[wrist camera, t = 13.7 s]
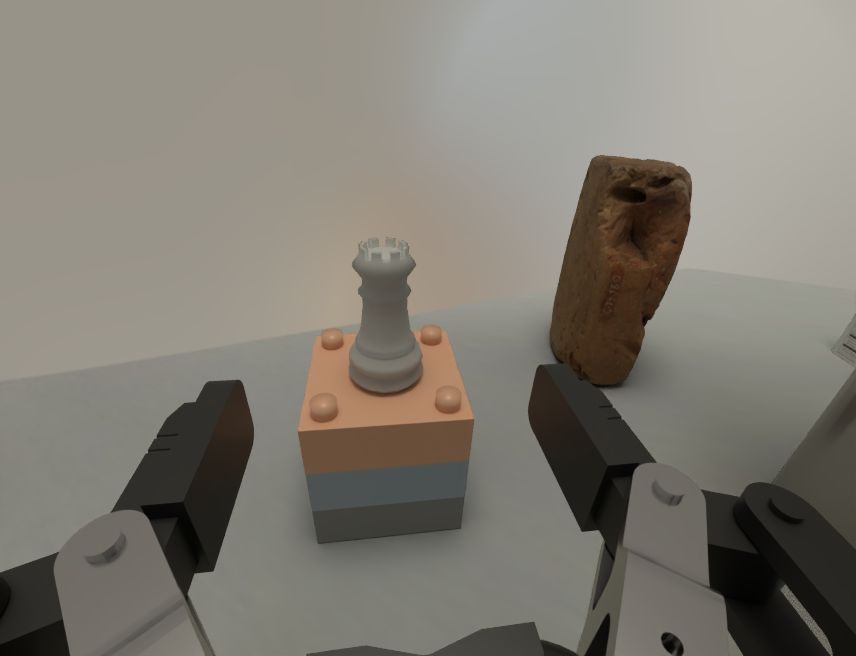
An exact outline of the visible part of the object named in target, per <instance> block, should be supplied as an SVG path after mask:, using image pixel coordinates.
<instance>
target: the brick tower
mask: <svg viewBox="0 0 856 656" xmlns="http://www.w3.org/2000/svg"><path fill="white" fill-rule="evenodd" d="M413 333H414V335H415V338H416V341H417V342H419V345H420V348H421V351H422V355H423V357H422V359H421V361H422V364H423V371H422V374H421V376H420V378H419V379H417V380H416V381H415V382H414V383H413V384H412V385H411V386H410V387H408V388H407V389H404V390H402V391H399V392H396V393H386V394H381V393H375V392H370V391H368V390H366V389H364V388H362V387H360V386H359V385H358V384H357V383H356V382H355V381H354V380H353V379H352V377H351V376H350V375H349V364H350V362H349V351H350V348H351V346H352V345H353V343H354V342H355V340H356V339H355V337H356V336H357V334H343V332H342V331H341V330H339V329H327V330H325V331H323V332H322V333H321V335H316V340H315V345H314V350H313V355H312V360H311V365H310V371H309V376H308V381H307V386H306V391H305V396H304V402H303V407H302V412H301V417H300V422H299V428H298V436H299V441H300V447H301V452H302V458H303V463H304V469H305V474H306V479H307V485H308V490H309V496H310V501H311V507H312V512H313V518H314V523H315V529H316V534H317V540H318V543H328V542H337V541H346V540H356V539H365V538H374V537H383V536H393V535H402V534H411V533H421V532H430V531H439V530H449V529H458V528H460V527H461V519H462V511H463V504H464V496H465V488H466V480H467V472H468V465H469V457H470V449H471V441H472V433H473V425H474V416H473V413H472V410H471V407H470V404H469V401H468V398H467V395H466V392H465V389H464V386H463V383H462V380H461V377H460V374H459V371H458V368H457V365H456V362H455V358H454V355H453V352H452V349H451V346H450V343H449V340H448V337H447V334H446V331H445V330H442V329H441V328H440V327H439V326H436V325H426V326H424V327H422V329H421V331H415V332H413Z"/></svg>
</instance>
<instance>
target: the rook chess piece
mask: <svg viewBox="0 0 856 656" xmlns="http://www.w3.org/2000/svg"><path fill="white" fill-rule="evenodd" d="M415 266H416V263H415V261H414V259H413V258H412V257H411V256H410V254H409V246H408V244H407V243H406V242H405V241H399V248H398V247H395V238H386V246H379V242H378V238H372V239H369V248H367V243H366V242H361V243H360V244H359V254H358V255H357V257H356V258H355V259H354V261H353V262H352V267H353V268H354V270H355V271H356V272H357V273H358V274H359V275H360V277H361V278H362V285H361V286H360V287H359V289H358V293H359V295H360V296H361V297H362V300H363V310H362V320H361V327H360V331H359V333H358V334H357V336H356V337H355V339H356V340H355V342H354V343H353V345H352V346H351V348H350V351H349V362H350V364H349V375H350V376H351V377H352V379H353V380H354V381H355V382H356V383H357V384H358V385H359V386H360V387H362V388H364V389H366V390H368V391H370V392H375V393H381V394H386V393H396V392H399V391H402V390H404V389H407V388H408V387H410V386H411V385H412V384H413V383H414V382H415V381H416V380H417V379H419V378H420V376H421V374H422V371H423V364H422V361H421V359H422V357H423V355H422V351H421V348H420V345H419V342H417V341H416V338H415V335H414V333H413V332H412V331H411V330H410V325H409V317H408V311H407V297H408V296H409V294H410V292H411V289H410V287H409V285H408V284H407V277H408V275H409V274H410V273H411V271H412V270H413V269H414V267H415Z"/></svg>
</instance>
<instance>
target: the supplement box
mask: <svg viewBox="0 0 856 656" xmlns="http://www.w3.org/2000/svg"><path fill="white" fill-rule="evenodd" d="M831 352H832V353H834V354H835V355H837V356H838V357H840V358H841V359H843V360H844V361H846V362H848V363H849V364H851V365H852V366H854V367H855V368H856V314H855V316H854V317H853V319H852V320H851V322H850V323H849V325H848V326H847V328H846V329H845V331H844V332H843V334H842V336H841V337H840V339H839V340H838V342H837V343H836V345H835V346H834V348H833V349H832V351H831Z"/></svg>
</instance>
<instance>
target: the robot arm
mask: <svg viewBox="0 0 856 656" xmlns="http://www.w3.org/2000/svg"><path fill="white" fill-rule="evenodd" d="M612 406H613V405H612V404H611V403H610V401H609V400H608V399H607V398H606V396H605V395H604V394H603V392H602V391H600V390H599V389H598V388H596V387H595V386H593V385H592V384H591V383H589V382H588V381H586V380H581V381H580V380H579V379H578V377H577V376H576V374H575V373H574V372H573V370H572V369H571V368H570V366H569V365H568V364H546V365H539V366H538V368H537V370H536V374H535V378H534V383H533V388H532V392H531V397H530V401H529V407H528V415H529V421H530V425H531V428H532V430H533V432H534V434H535V436H536V438H537V440H538V442H539V444H540V446H541V448H542V450H543V453H544V455H545V457H546V459H547V461H548V463H549V465H550V467H551V469H552V471H553V473H554V475H555V477H556V479H557V481H558V483H559V486H560V488H561V490H562V492H563V494H564V496H565V498H566V500H567V502H568V504H569V506H570V508H571V510H572V512H573V514H574V516H575V519H576V521H577V523H578V525H579V527H580V529H581V531H582V532H585V531H594V530H599V531H600V533H601V535H602V537H603V539H604V540H603V543H602V545H601V549H600V554H599V559H598V564H597V569H596V574H595V579H594V584H593V589H592V594H591V599H590V604H589V609H588V614H587V618H586V622H585V626H584V629H583V632H582V635H581V638H580V641H579V645H578V648H577V652H576V653H575V652H573V651H571V650H569V649H567V648H564V647H562V646H560V645H557V644H554V643H551V642H548V641H544V640H540V638H539V635H538V632H537V629H536V626H535V623H534V622H529V623H522V624H515V625H508V626H501V627H494V628H487V629H481V630H479V631H477V632H475V633H473V634H471V635H469V636H467V637H465V638H463V639H461V640H459V641H457V642H455V643H452V644H450V645H448V646H446V647H444V648H442V649H440V650H438V651H436V652H434V653H432V654H429V655H417V654H411V653H406V652H400V651H394V650H388V649H382V648H377V647H371V646H359V647H352V648H345V649H338V650H331V651H324V652H317V653H310V654H306V656H729V645H728V631H729V633H730V634H731V636H732V638H733V639H734V641H735V643H736V644H737V646H738V647H739V649H740V651H741V652H742V654H743V656H830V654H829V653H828V652H827V651H826V649H825V648H824V647H823V645H822V644H821V643H820V641H819V640H818V639H817V638H816V636H815V635H814V634H813V632H812V631H811V630H810V628H809V627H808V626H807V624H806V623H805V622H804V621H803V619H802V618H801V617H800V615H799V614H798V613H797V611H796V610H795V609H794V608H793V606H792V605H791V604H790V602H789V601H788V600H787V598H786V597H785V596H784V594H783V593H782V592H781V591H780V589H781V588H782V587H783V586H784V585H785V584H786V585H787V586H788V588H789V589H790V590H791V591H792V593H793V594H794V595H795V597H796V598H797V599H798V600H799V602H800V603H801V604H802V605H803V607H804V608H805V609H806V611H807V612H808V613H809V614H810V616H811V617H812V618H813V619H814V621H815V622H816V623H817V624H818V626H819V627H820V628H821V630H822V631H823V632H824V634H825V635H826V637H827V639H828V641H829V643H830V645H831V648H832V652H833V656H856V368H855V370H854V371H853V372H852V374H851V375H850V377H849V378H848V379H847V381H846V382H845V383H844V385H843V386H842V388H841V389H840V390H839V392H838V393H837V394H836V396H835V397H834V398H833V400H832V401H831V403H830V404H829V405H828V407H827V408H826V409H825V411H824V412H823V414H822V415H821V416H820V418H819V419H818V420H817V422H816V423H815V425H814V426H813V427H812V429H811V430H810V431H809V433H808V434H807V436H806V437H805V438H804V440H803V441H802V442H801V444H800V445H799V447H798V448H797V449H796V450H795V452H794V453H793V454H792V456H791V457H790V459H789V460H788V461H787V463H786V464H785V465H784V467H783V468H782V470H781V471H780V472H779V474H778V475H777V476H776V478H775V479H774V481H773V482H772V483H771V484H769V483H760V482H758V483H752V484H750V485H748V486H747V487H746V488H745V490H744V491H743V493H742V494H741V496H740V497H737V496H732V495H726V494H721V493H716V492H711V491H705V490H701V489H700V488H699V487H698V486H697V484H696V483H695V482H694V481H693V480H691V479H690V478H689V477H688V476H687V475H685V474H684V473H682V472H680V471H679V470H677V469H675V468H672V467H670V466H667V465H664V464H660V463H657V462H656V461H655V460H654V458H653V457H652V456H651V455H650V453H649V452H648V451H647V449H646V448H645V447H644V445H643V444H642V443H641V442H640V440H639V439H638V438H637V436H636V435H635V434H634V433H633V431H632V430H631V429H630V427H629V426H628V425H627V423H626V422H625V421H624V420H622V419H621V416H620V414H619V413H618V412H617V411H616V409H615V408H613V407H612ZM253 440H254V426H253V421H252V417H251V413H250V409H249V405H248V402H247V398H246V394H245V390H244V386H243V384H242V382H241V381H240V380H226V381H209V382H207V383H206V384H205V385H204V387H203V389H202V391H201V393H200V395H199V397H198V398H197V400H196V402H192V403H184V404H183V405H182V406H181V407H179V408H178V409H177V410H176V411H175V412H174V413H172V414H171V415H170V416H169V417H168V418H167V419H166V421H165V422H164V424H163V426H162V427H161V429H160V431H159V432H158V434H157V439H154V441H153V442H152V444H151V446H150V447H149V449H148V454H145V456H144V458H143V459H142V461H141V463H140V464H139V466H138V468H137V469H136V471H135V473H134V474H133V476H132V478H131V479H130V481H129V483H128V484H127V486H126V488H125V489H124V491H123V493H122V494H121V496H120V498H119V500H118V501H117V503H116V505H115V506H114V508H113V510H112V511H111V513H109V514H106V515H104V516H101V517H99V518H97V519H95V520H94V521H92V522H90V523H88V524H87V525H85V526H84V527H83V528H81V529H80V530H79V531H78V532H76V533H75V534H74V535H73V536H72V537H71V538H70V539H69V540H68V541H67V542H66V543H65V545H64V546H63V547H62V549H61V550H60V552H57V553H55V554H52V555H49V556H46V557H44V558H41V559H38V560H35V561H32V562H29V563H26V564H24V565H21V566H18V567H15V568H12V569H9V570H6V571H4V572H1V573H0V656H216V655H215V653H214V650H213V648H212V646H211V644H210V642H209V639H208V637H207V635H206V633H205V630H204V628H203V626H202V624H201V621H200V619H199V617H198V615H197V612H196V610H195V608H194V606H193V604H192V601H191V599H190V597H189V595H188V591H189V588H190V585H191V582H192V579H193V576H194V573H203V572H212V571H214V568H215V565H216V562H217V558H218V555H219V552H220V549H221V546H222V542H223V539H224V536H225V533H226V530H227V526H228V523H229V520H230V517H231V514H232V510H233V507H234V504H235V501H236V498H237V494H238V491H239V488H240V485H241V482H242V478H243V475H244V472H245V469H246V466H247V462H248V459H249V456H250V453H251V450H252V446H253Z"/></svg>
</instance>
